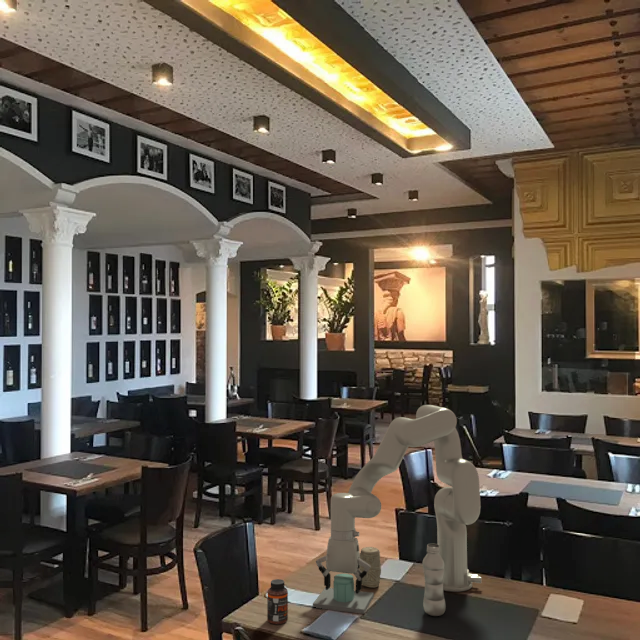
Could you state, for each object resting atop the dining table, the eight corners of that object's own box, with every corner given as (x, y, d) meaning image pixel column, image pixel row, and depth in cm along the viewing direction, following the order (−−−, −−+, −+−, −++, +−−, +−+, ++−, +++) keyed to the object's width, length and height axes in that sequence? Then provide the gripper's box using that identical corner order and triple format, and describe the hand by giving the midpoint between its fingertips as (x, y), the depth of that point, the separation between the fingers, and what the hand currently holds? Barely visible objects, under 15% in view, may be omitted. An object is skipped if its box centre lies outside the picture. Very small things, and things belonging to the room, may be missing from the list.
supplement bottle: (280, 627, 181) (279, 586, 181) (263, 622, 184) (262, 582, 184) (292, 619, 186) (291, 580, 186) (275, 614, 189) (275, 576, 189)
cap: (355, 595, 199) (355, 574, 200) (350, 603, 194) (350, 581, 194) (337, 593, 201) (337, 572, 201) (331, 600, 195) (331, 579, 196)
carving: (385, 586, 210) (384, 549, 210) (367, 591, 205) (366, 553, 206) (373, 580, 215) (372, 544, 215) (355, 585, 211) (354, 548, 211)
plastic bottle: (432, 620, 184) (431, 550, 184) (418, 611, 190) (417, 544, 190) (450, 616, 187) (449, 547, 187) (436, 607, 193) (435, 540, 193)
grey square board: (373, 596, 201) (373, 578, 201) (364, 613, 189) (363, 594, 189) (325, 591, 206) (325, 573, 206) (312, 607, 194) (312, 588, 194)
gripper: (372, 533, 199) (372, 588, 198) (319, 528, 204) (319, 582, 204) (367, 540, 192) (367, 598, 191) (312, 535, 197) (312, 591, 196)
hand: (342, 590), depth 197 cm, fingers open, 9 cm apart
